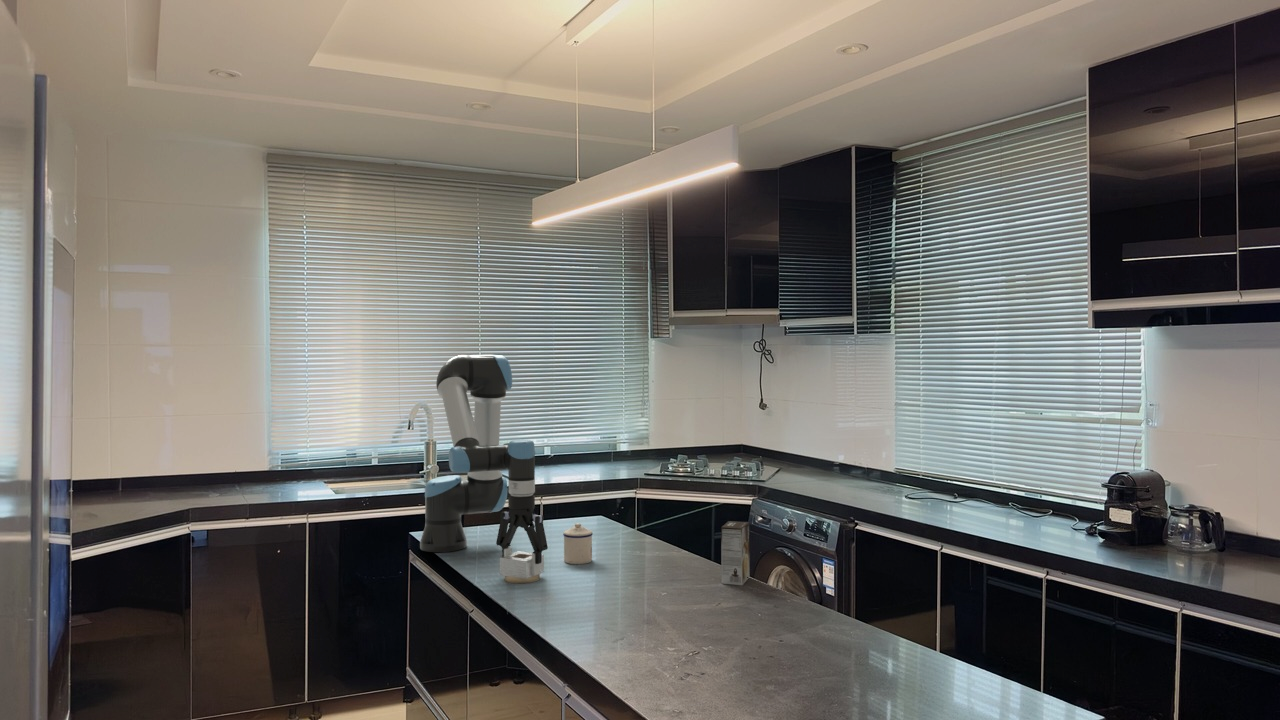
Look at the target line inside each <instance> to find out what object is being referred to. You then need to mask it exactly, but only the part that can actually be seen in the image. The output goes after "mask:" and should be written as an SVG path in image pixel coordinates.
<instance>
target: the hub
mask: <svg viewBox="0 0 1280 720" xmlns="http://www.w3.org/2000/svg"><path fill="white" fill-rule="evenodd" d="M523 559H524V558H523ZM540 577H541V573H540V574H538V575H536V576H532V577H530V578H528V579H522V578H515V577H508V576H504V581H505V582H507V583H510V584H511V583H512V584H529V583H530V584H531V583H534V582H537V581H538V580H540Z"/></svg>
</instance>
